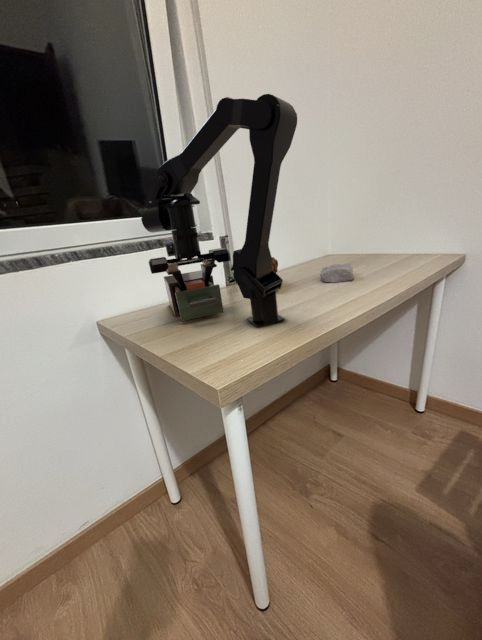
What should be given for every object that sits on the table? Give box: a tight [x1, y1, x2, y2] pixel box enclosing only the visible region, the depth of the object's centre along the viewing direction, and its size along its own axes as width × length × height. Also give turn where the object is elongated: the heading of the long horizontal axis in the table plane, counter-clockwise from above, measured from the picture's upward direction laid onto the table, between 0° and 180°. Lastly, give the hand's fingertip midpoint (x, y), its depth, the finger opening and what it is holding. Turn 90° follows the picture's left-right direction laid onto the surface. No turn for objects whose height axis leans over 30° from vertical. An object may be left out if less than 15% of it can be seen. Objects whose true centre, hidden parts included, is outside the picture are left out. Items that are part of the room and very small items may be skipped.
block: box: [184, 280, 205, 290], centre depth 76 cm, size 4×4×4 cm
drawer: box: [173, 282, 224, 322], centre depth 76 cm, size 17×10×7 cm, turn 19°
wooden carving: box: [271, 256, 279, 274], centre depth 97 cm, size 16×5×10 cm, turn 0°
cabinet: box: [163, 270, 215, 317], centre depth 86 cm, size 14×12×9 cm
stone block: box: [319, 263, 354, 283], centre depth 99 cm, size 12×5×10 cm
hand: (196, 295), depth 76 cm, fingers closed on block, 4 cm apart
